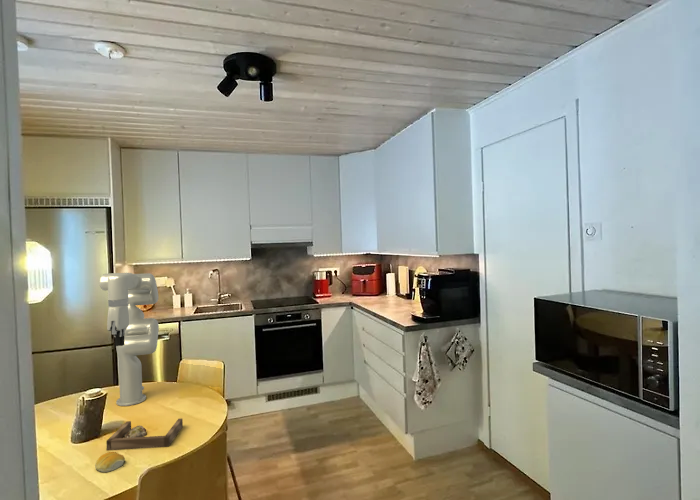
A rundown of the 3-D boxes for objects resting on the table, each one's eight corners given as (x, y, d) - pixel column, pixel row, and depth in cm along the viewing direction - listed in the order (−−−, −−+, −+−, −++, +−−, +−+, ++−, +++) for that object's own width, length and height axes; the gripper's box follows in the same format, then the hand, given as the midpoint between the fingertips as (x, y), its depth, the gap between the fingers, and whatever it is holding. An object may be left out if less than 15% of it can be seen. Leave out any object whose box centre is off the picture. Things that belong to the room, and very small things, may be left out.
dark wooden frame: (127, 429, 163) (126, 421, 163) (182, 426, 165) (182, 418, 165) (106, 450, 147) (106, 441, 147) (168, 446, 149) (168, 437, 149)
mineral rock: (125, 427, 161) (146, 419, 163) (129, 436, 161) (150, 429, 163) (117, 440, 151) (140, 432, 152) (121, 451, 151) (144, 442, 153)
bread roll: (115, 456, 143) (114, 445, 143) (128, 463, 138) (128, 452, 138) (89, 467, 136) (89, 456, 136) (103, 475, 131) (102, 463, 131)
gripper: (117, 300, 179) (119, 341, 180) (100, 306, 164) (101, 350, 165) (135, 300, 180) (136, 340, 180) (119, 305, 165) (120, 349, 165)
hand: (119, 345), depth 172 cm, fingers closed
